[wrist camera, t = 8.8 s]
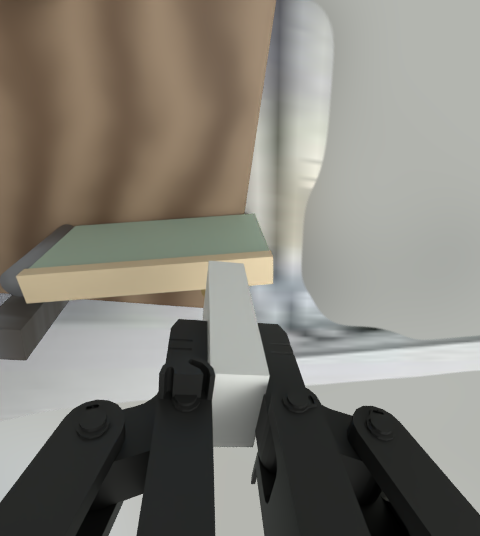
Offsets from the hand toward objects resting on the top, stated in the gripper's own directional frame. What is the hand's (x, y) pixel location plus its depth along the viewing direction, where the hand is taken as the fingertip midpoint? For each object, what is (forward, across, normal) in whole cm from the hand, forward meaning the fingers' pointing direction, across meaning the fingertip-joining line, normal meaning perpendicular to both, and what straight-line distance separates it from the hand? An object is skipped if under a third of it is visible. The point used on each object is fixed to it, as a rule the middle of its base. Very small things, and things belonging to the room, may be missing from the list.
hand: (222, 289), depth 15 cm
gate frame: (+18, -9, +3) cm, 20 cm away
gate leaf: (+17, -5, -4) cm, 18 cm away
